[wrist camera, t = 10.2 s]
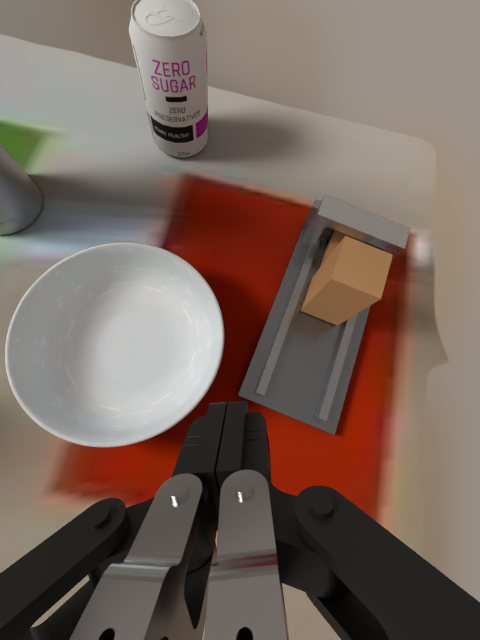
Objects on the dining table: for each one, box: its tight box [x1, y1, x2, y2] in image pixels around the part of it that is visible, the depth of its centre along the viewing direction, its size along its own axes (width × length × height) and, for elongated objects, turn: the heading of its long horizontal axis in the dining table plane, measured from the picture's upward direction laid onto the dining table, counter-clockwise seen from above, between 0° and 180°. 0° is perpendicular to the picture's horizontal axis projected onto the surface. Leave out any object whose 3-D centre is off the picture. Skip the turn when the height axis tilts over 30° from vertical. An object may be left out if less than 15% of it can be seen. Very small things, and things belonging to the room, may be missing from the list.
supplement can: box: [129, 0, 208, 157], centre depth 37 cm, size 8×8×15 cm
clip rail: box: [238, 195, 410, 435], centre depth 35 cm, size 26×12×8 cm, turn 158°
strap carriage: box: [301, 230, 393, 326], centre depth 34 cm, size 12×5×10 cm, turn 158°
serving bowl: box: [5, 242, 224, 447], centre depth 32 cm, size 21×21×7 cm
